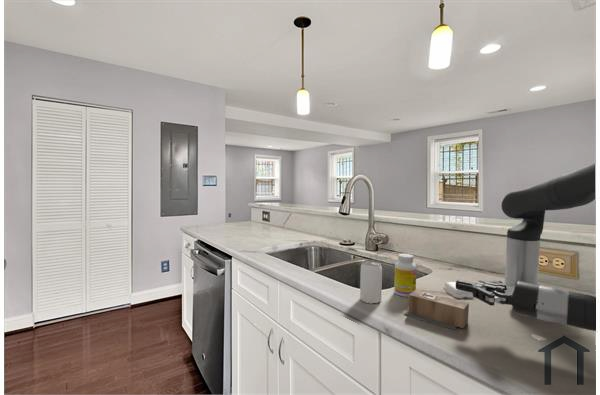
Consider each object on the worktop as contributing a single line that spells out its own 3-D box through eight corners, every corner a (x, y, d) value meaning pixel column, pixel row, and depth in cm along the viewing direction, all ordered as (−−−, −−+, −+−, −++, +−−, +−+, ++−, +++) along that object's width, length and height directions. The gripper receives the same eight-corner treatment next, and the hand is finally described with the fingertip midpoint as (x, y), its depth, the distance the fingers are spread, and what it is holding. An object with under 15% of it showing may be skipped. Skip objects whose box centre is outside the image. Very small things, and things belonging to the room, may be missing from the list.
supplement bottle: (415, 299, 97) (416, 258, 96) (393, 296, 99) (394, 256, 98) (415, 291, 103) (416, 253, 102) (394, 288, 105) (395, 252, 104)
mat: (418, 302, 94) (418, 301, 94) (465, 315, 86) (465, 313, 86) (404, 314, 86) (404, 313, 86) (454, 330, 77) (454, 328, 77)
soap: (441, 288, 107) (442, 280, 106) (461, 288, 107) (461, 280, 106) (455, 299, 98) (455, 290, 97) (476, 299, 98) (476, 290, 97)
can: (375, 306, 91) (375, 266, 91) (356, 300, 96) (356, 262, 95) (385, 299, 96) (385, 262, 95) (366, 294, 101) (367, 258, 100)
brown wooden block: (468, 321, 81) (415, 306, 90) (468, 301, 81) (415, 288, 90) (463, 328, 77) (408, 312, 87) (464, 307, 77) (408, 293, 86)
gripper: (543, 278, 74) (463, 264, 85) (539, 294, 64) (449, 276, 75) (541, 308, 74) (462, 290, 86) (537, 329, 64) (448, 306, 76)
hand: (456, 284), depth 80 cm, fingers closed
